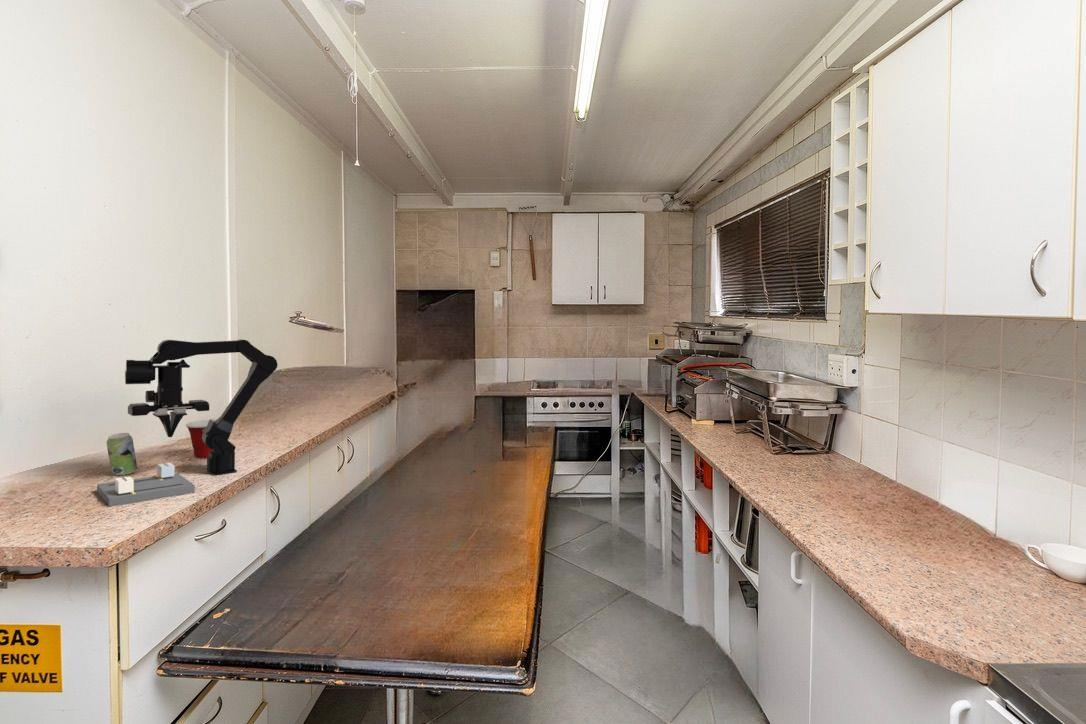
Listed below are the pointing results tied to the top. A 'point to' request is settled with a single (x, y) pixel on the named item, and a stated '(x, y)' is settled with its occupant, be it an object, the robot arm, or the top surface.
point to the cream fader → (124, 485)
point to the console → (146, 489)
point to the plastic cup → (199, 437)
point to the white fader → (165, 470)
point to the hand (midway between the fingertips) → (169, 437)
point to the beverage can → (121, 454)
